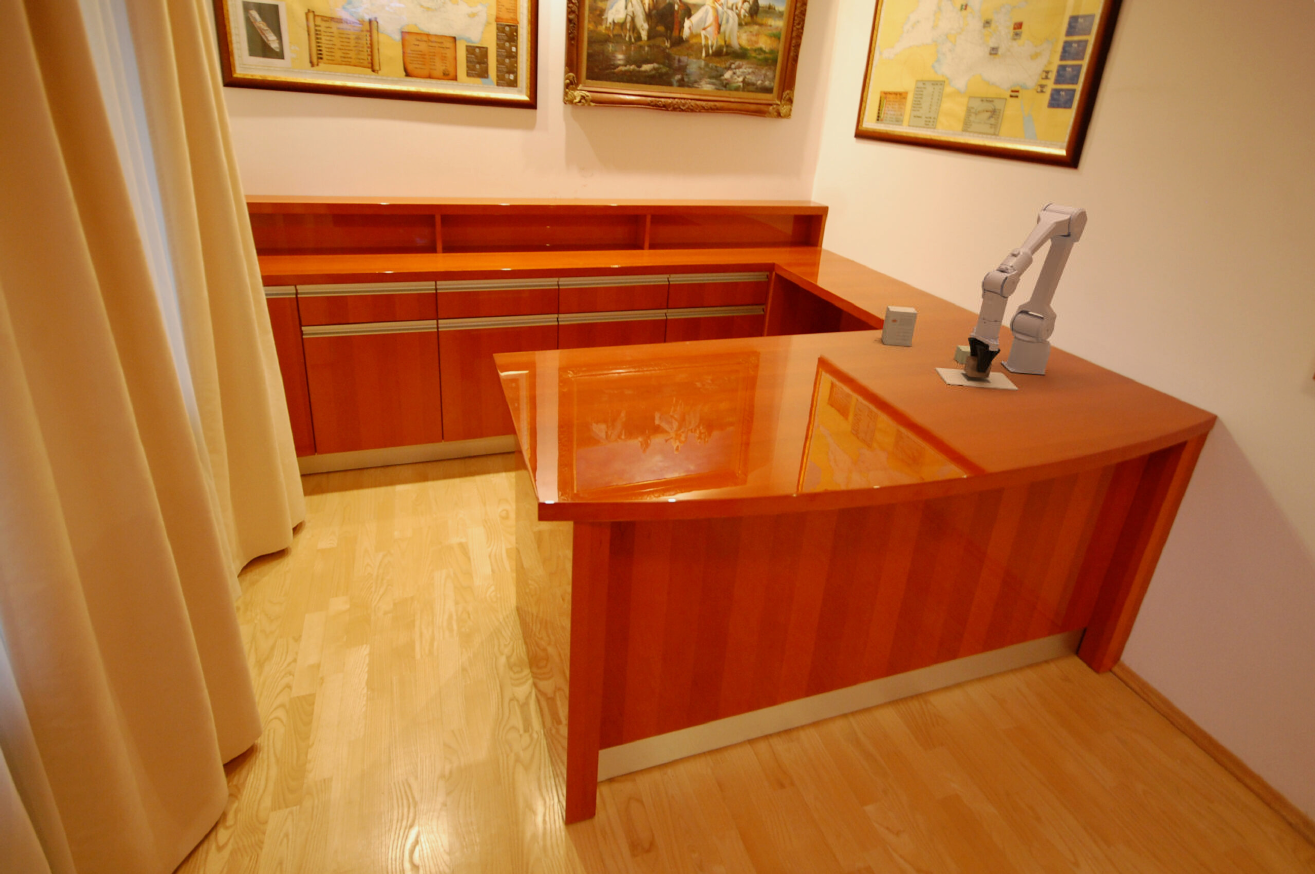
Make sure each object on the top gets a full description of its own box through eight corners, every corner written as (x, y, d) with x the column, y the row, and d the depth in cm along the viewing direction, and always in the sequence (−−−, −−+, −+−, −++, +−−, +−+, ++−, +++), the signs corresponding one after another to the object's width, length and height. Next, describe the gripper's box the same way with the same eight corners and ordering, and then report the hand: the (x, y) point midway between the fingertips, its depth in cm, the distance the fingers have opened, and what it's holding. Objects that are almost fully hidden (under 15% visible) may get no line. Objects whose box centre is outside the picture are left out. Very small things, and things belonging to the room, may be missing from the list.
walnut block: (982, 371, 199) (986, 357, 198) (988, 378, 195) (992, 363, 193) (963, 370, 200) (967, 355, 198) (969, 376, 195) (972, 362, 193)
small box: (907, 341, 226) (914, 307, 222) (910, 347, 221) (918, 312, 217) (880, 339, 227) (886, 305, 222) (883, 344, 222) (890, 310, 217)
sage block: (971, 359, 214) (974, 346, 212) (977, 365, 209) (980, 352, 207) (953, 358, 214) (957, 345, 212) (959, 364, 209) (962, 350, 207)
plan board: (1001, 374, 203) (1002, 372, 203) (1017, 390, 192) (1018, 388, 192) (934, 369, 204) (935, 367, 203) (947, 384, 193) (947, 382, 193)
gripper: (966, 309, 198) (954, 358, 203) (983, 325, 184) (970, 376, 190) (993, 311, 197) (980, 360, 203) (1012, 327, 184) (998, 379, 190)
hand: (977, 368), depth 197 cm, fingers closed on walnut block, 5 cm apart
